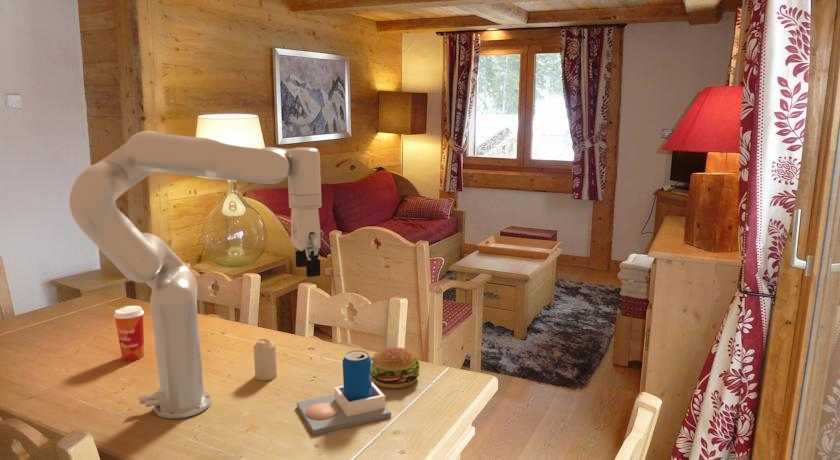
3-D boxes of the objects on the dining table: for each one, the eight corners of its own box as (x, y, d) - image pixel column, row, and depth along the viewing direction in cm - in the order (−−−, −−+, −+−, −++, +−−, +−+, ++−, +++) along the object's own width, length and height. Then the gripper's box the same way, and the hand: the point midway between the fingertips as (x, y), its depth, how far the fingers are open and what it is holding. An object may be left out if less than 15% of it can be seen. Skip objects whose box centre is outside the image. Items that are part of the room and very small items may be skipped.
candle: (281, 374, 163) (279, 338, 161) (267, 382, 158) (265, 345, 156) (264, 370, 165) (262, 334, 163) (250, 378, 161) (248, 342, 159)
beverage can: (366, 411, 141) (365, 361, 138) (340, 408, 142) (338, 359, 140) (375, 398, 147) (374, 350, 144) (350, 395, 148) (348, 348, 146)
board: (313, 435, 133) (312, 417, 132) (297, 406, 145) (296, 390, 145) (391, 417, 141) (390, 399, 140) (368, 391, 153) (368, 375, 152)
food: (368, 368, 167) (367, 340, 165) (420, 368, 166) (420, 340, 165) (362, 391, 153) (361, 361, 152) (418, 392, 153) (418, 361, 151)
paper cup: (111, 360, 172) (106, 312, 170) (133, 350, 179) (129, 303, 177) (133, 364, 169) (128, 315, 167) (154, 353, 176) (150, 307, 174)
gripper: (280, 196, 152) (283, 264, 155) (298, 207, 136) (301, 282, 140) (310, 195, 155) (313, 261, 158) (331, 205, 139) (333, 278, 143)
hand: (307, 271), depth 149 cm, fingers open, 9 cm apart
